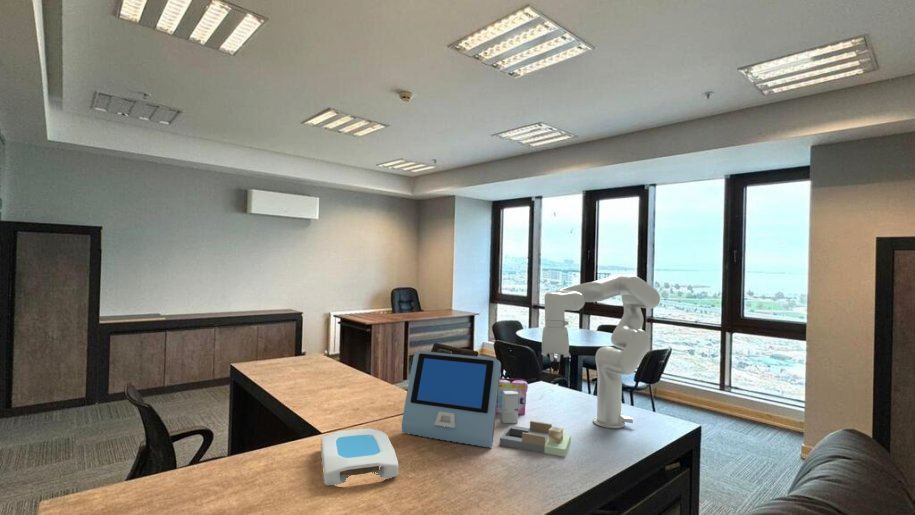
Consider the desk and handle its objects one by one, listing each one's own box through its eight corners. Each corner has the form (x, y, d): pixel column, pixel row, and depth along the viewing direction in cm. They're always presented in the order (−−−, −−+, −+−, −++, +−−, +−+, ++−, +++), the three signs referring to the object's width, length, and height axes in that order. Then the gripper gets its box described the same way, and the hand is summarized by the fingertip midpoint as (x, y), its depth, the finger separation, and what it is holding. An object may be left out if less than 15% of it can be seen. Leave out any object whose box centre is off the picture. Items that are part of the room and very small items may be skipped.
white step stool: (324, 491, 122) (324, 468, 122) (320, 450, 148) (321, 432, 148) (398, 481, 129) (399, 459, 129) (382, 444, 155) (382, 426, 155)
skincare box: (503, 423, 178) (504, 393, 178) (501, 419, 182) (501, 390, 182) (518, 423, 178) (519, 393, 179) (515, 419, 183) (516, 390, 183)
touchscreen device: (399, 435, 162) (402, 354, 164) (420, 420, 181) (423, 347, 182) (490, 451, 150) (492, 363, 152) (503, 433, 169) (505, 355, 170)
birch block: (562, 439, 156) (563, 428, 156) (559, 443, 152) (559, 432, 152) (552, 437, 158) (552, 426, 158) (548, 441, 154) (548, 429, 154)
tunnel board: (570, 441, 160) (570, 426, 161) (565, 456, 147) (565, 440, 148) (509, 431, 169) (510, 417, 169) (499, 445, 156) (500, 429, 156)
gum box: (527, 409, 197) (527, 379, 197) (528, 415, 189) (529, 383, 189) (474, 406, 199) (475, 376, 199) (473, 412, 191) (474, 381, 191)
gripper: (575, 323, 171) (576, 370, 171) (537, 322, 176) (538, 367, 176) (573, 326, 164) (574, 374, 164) (533, 324, 169) (534, 372, 169)
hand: (555, 370), depth 170 cm, fingers closed
